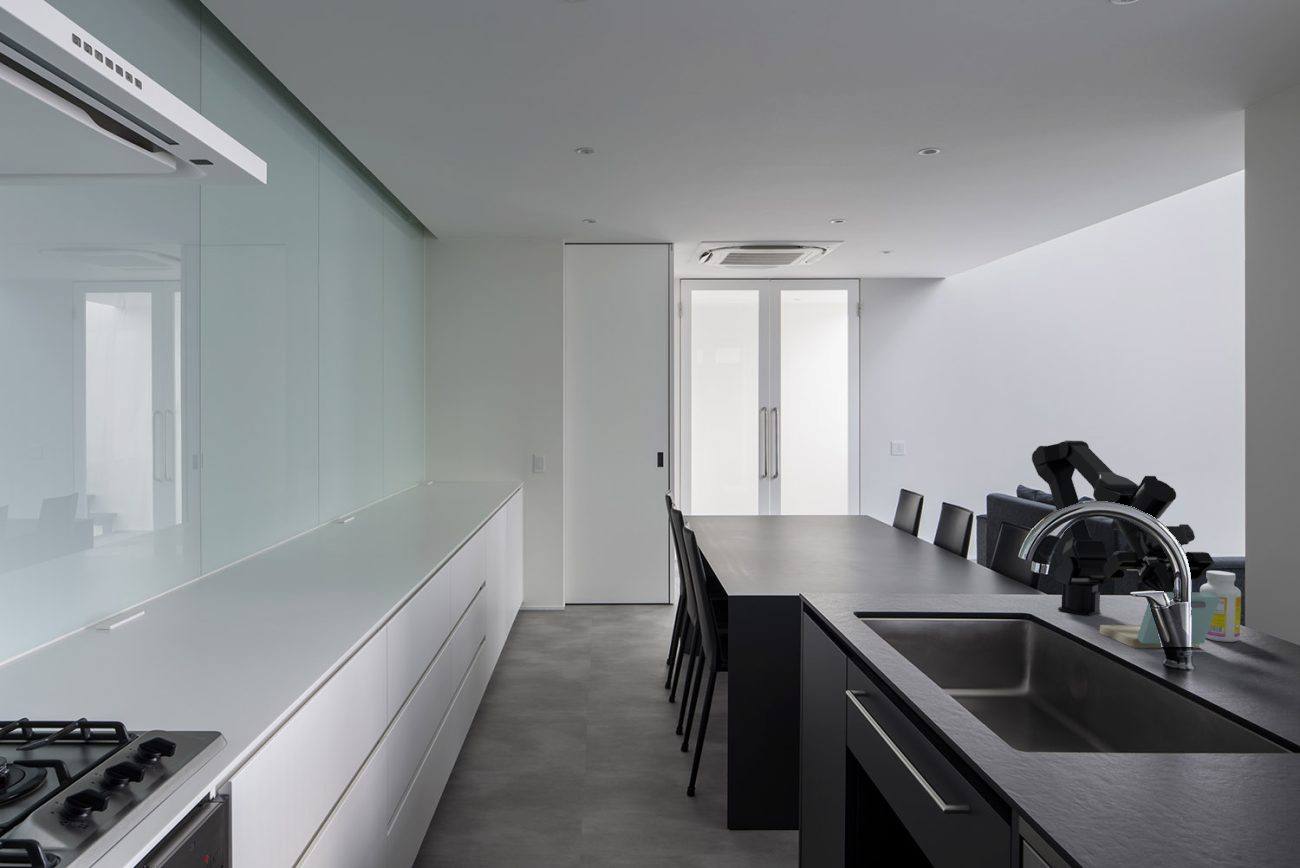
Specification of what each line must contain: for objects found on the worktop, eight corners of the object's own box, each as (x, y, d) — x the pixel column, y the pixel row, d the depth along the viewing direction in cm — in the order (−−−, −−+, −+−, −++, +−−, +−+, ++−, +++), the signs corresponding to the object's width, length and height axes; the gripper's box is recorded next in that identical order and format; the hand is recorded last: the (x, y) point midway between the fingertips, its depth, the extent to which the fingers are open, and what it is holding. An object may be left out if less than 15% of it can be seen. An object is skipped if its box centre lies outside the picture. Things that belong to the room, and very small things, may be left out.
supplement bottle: (1226, 634, 166) (1229, 570, 165) (1247, 643, 159) (1250, 576, 159) (1191, 632, 166) (1193, 568, 166) (1209, 642, 160) (1212, 575, 159)
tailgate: (1136, 638, 154) (1151, 592, 150) (1198, 638, 155) (1214, 592, 151) (1144, 646, 152) (1160, 599, 148) (1207, 646, 153) (1223, 599, 149)
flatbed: (1099, 633, 164) (1099, 625, 164) (1162, 633, 165) (1162, 625, 165) (1133, 647, 154) (1133, 639, 154) (1199, 647, 156) (1199, 639, 155)
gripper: (1114, 508, 156) (1153, 578, 145) (1208, 509, 158) (1253, 579, 147) (1087, 544, 164) (1122, 613, 153) (1177, 544, 166) (1218, 613, 155)
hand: (1179, 603), depth 152 cm, fingers closed, pressing on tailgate
